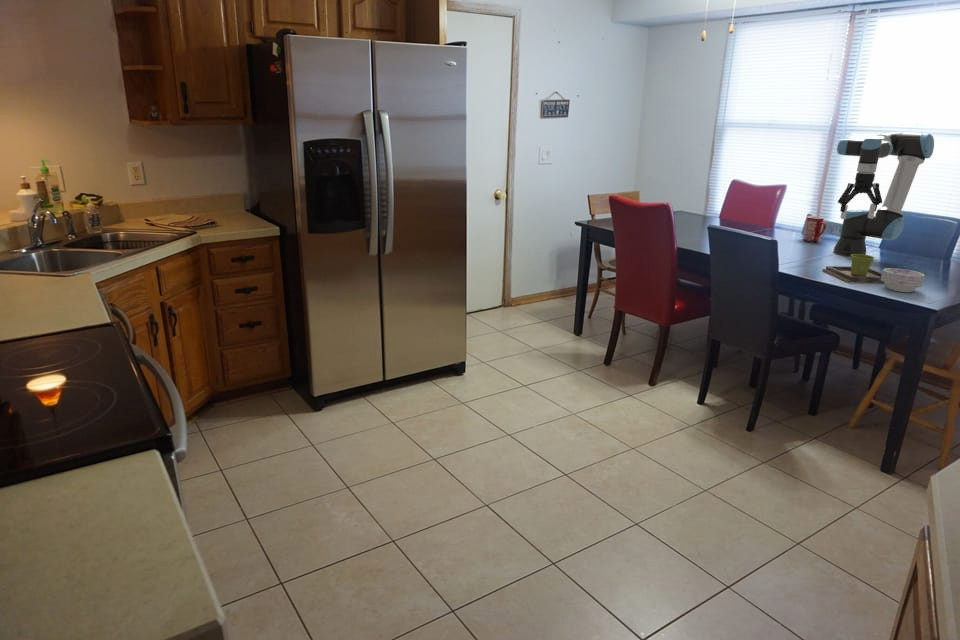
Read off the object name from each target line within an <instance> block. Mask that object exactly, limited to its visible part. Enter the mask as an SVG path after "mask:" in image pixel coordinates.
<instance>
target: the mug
mask: <svg viewBox="0 0 960 640" xmlns="http://www.w3.org/2000/svg"><path fill="white" fill-rule="evenodd" d="M824 220H825V217H821V216H817V215H815V216H814V215H809V216H806V222H805V233H804V237H803V238H804V239H805V240H804V241H806V240H807V242H813V241H816V242H819V239H820V237H821V236H822V235H823V234H824V233H825V231H826V229H827V223H826V222H825V221H824Z"/></svg>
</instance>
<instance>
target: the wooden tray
mask: <svg viewBox="0 0 960 640" xmlns="http://www.w3.org/2000/svg"><path fill="white" fill-rule="evenodd" d="M851 266H852V265H851ZM851 266H850V265H848V266H847V265H845V266H844V265H826V266H825V268H822V270H821V271H822V272H823V273H826V274H828V275H830V276H832V277H835V278H837V279H839V280H841V281H843V282H845V283H849V282H855V284H856V282H860V283H859V284H885V283H884V282H883V281H881V276H882V272H880V271H878V270H875V269H873V268H871V267H869V270H868V272H867V275H866V276H857V275H852V274H851Z"/></svg>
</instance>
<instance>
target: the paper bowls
mask: <svg viewBox="0 0 960 640" xmlns="http://www.w3.org/2000/svg"><path fill="white" fill-rule="evenodd" d="M881 273H882V276H881V281H883V282H884V283H883V284H884V286H885V288H887V289H888V290H891V291H893V292H899V293H913V292H914V291H916V289H917V288H921V287H923V285H924V280H925V277H926V276H925V274H924V273H922V272H919V271H916V270H911V269H905V268H896V267H895V268H894V267H892V268H891V267H887V268H886V267H884V268H883V269H882V272H881Z"/></svg>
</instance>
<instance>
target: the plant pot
mask: <svg viewBox="0 0 960 640" xmlns="http://www.w3.org/2000/svg"><path fill="white" fill-rule="evenodd" d="M850 259H851V274H852V275H857V276H866V275H867V272H868V270H869V268H871V267H870V266H871V265H872V262H873V261H874V260H875V257H874V256H873V255H867V254H866V255H863V254H851V256H850Z"/></svg>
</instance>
